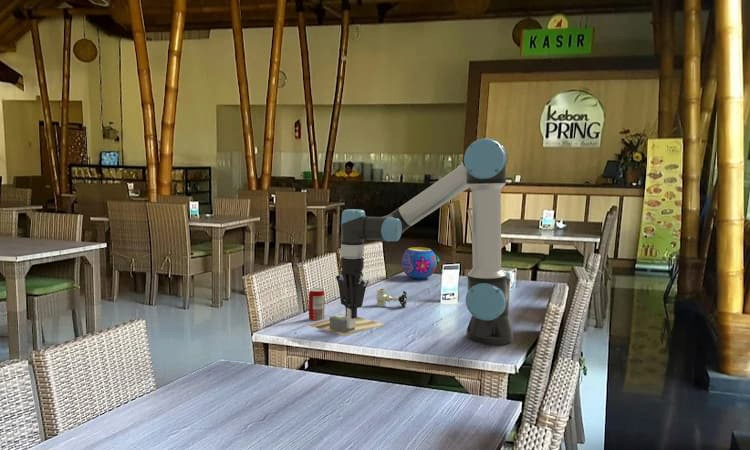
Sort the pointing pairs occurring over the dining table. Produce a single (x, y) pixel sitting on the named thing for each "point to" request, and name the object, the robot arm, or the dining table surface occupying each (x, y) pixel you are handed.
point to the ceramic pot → (419, 262)
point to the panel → (360, 326)
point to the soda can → (316, 304)
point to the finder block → (339, 323)
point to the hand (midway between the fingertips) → (351, 327)
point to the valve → (389, 298)
